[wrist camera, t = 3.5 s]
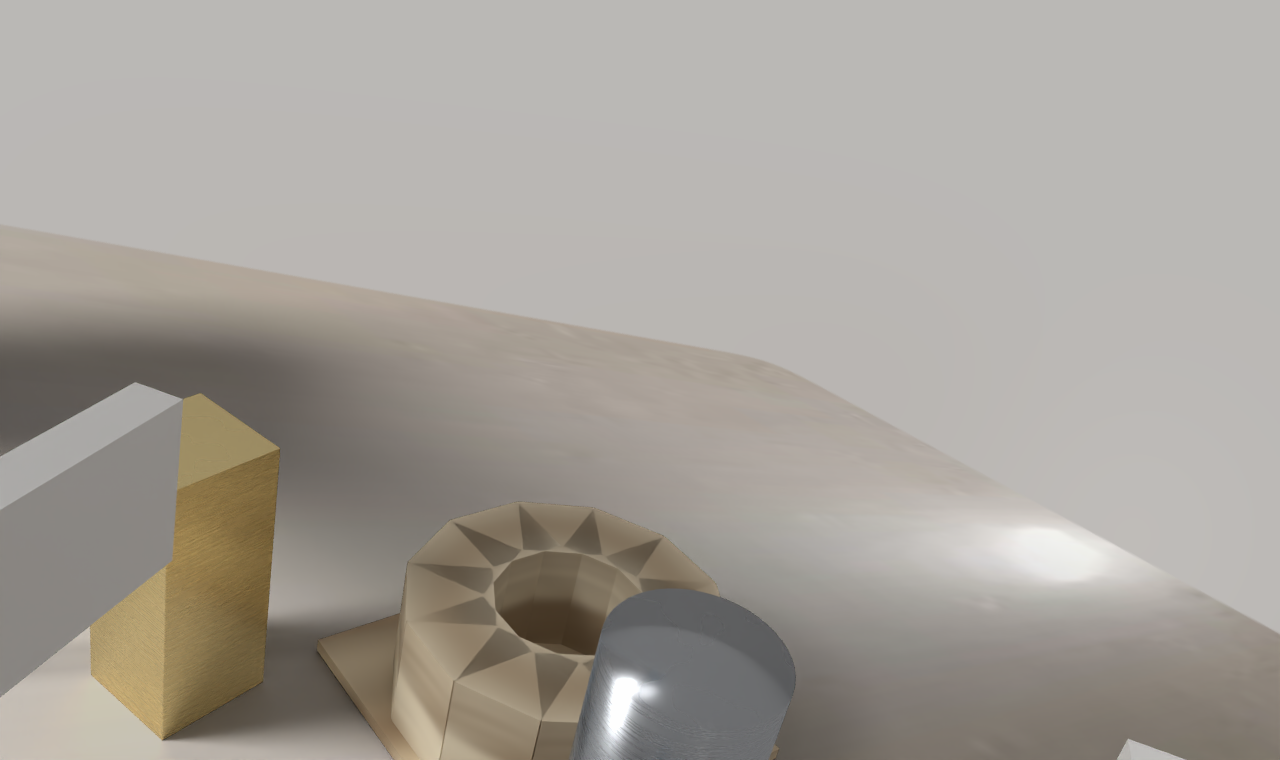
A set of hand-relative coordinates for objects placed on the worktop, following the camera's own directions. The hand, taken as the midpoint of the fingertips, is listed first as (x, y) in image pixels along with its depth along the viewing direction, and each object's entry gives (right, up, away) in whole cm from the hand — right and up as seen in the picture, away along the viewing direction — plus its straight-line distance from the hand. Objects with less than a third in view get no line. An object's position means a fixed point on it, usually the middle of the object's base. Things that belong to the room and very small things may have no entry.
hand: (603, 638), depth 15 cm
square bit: (-16, -7, +25) cm, 30 cm away
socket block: (-3, -9, +28) cm, 29 cm away
